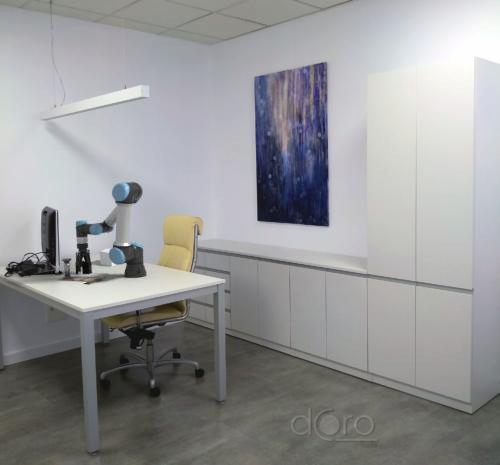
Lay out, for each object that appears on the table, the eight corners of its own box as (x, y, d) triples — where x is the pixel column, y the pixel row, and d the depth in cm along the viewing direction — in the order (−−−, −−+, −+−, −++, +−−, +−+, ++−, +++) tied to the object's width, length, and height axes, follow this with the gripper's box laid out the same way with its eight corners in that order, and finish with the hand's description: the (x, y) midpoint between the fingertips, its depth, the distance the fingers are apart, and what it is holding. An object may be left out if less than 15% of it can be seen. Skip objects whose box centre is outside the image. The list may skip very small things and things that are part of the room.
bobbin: (74, 277, 361) (73, 258, 359) (68, 279, 355) (67, 259, 354) (66, 277, 363) (65, 258, 361) (61, 279, 357) (59, 259, 355)
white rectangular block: (117, 260, 440) (116, 247, 438) (121, 265, 413) (121, 252, 411) (98, 261, 435) (98, 248, 433) (102, 267, 408) (101, 253, 406)
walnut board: (103, 279, 360) (102, 277, 360) (90, 284, 346) (90, 281, 346) (68, 278, 368) (67, 275, 367) (54, 282, 353) (54, 279, 353)
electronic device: (89, 276, 372) (88, 262, 371) (75, 276, 374) (75, 261, 373) (92, 275, 377) (91, 261, 375) (79, 274, 379) (78, 260, 377)
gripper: (85, 240, 384) (87, 272, 386) (68, 244, 364) (70, 277, 367) (95, 240, 382) (96, 272, 384) (78, 244, 362) (80, 278, 365)
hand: (84, 275), depth 375 cm, fingers open, 8 cm apart
